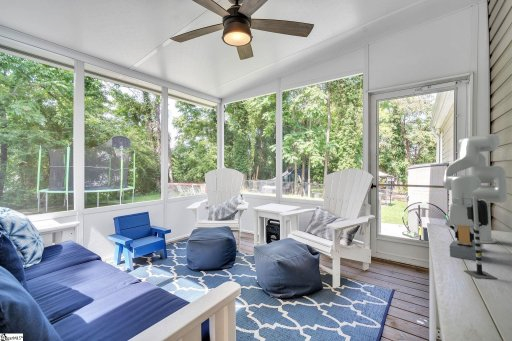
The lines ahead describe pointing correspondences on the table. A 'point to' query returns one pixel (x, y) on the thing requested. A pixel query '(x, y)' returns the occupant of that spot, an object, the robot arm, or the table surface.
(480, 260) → the miniature traffic light
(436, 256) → the table surface
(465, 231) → the tan flared block
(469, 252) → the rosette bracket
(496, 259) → the table surface
